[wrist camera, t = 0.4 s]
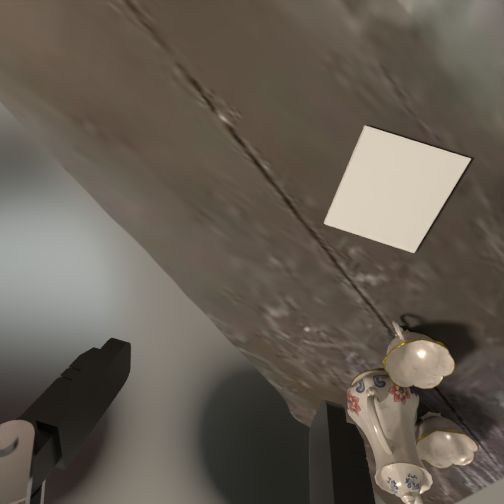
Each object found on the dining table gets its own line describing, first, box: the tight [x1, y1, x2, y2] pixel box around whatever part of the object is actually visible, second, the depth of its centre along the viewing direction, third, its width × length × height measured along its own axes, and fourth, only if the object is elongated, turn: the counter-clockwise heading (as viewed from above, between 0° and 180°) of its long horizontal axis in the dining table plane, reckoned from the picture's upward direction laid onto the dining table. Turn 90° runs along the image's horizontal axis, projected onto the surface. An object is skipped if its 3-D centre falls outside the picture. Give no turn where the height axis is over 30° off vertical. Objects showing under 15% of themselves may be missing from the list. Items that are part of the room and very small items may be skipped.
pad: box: [324, 126, 471, 253], centre depth 34 cm, size 12×12×1 cm
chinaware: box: [347, 321, 479, 504], centre depth 39 cm, size 28×17×17 cm, turn 30°
